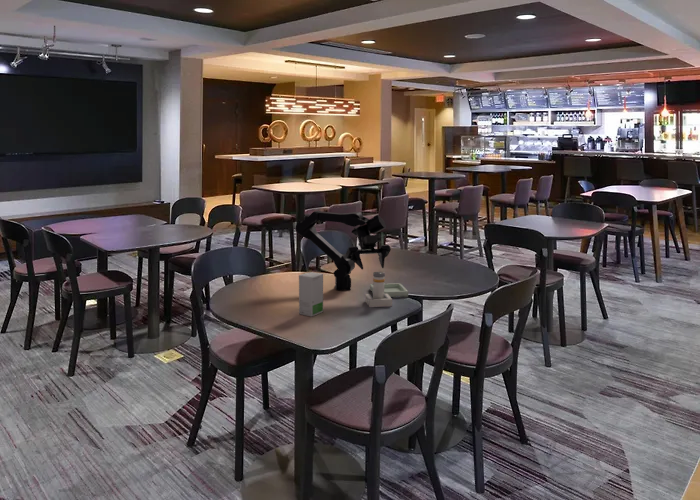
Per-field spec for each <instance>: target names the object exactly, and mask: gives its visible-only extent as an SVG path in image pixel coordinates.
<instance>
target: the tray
mask: <svg viewBox="0 0 700 500" xmlns="http://www.w3.org/2000/svg"><path fill="white" fill-rule="evenodd" d="M369 290H370V292H371V291H372V292H373V283H370V284H369ZM372 292H371V293H372ZM384 294H388V295H389V296H390V297H393V298H397V297H396V296H400V297H399V298H408V297H409V290H407V288H406V287H405V286H404V285H403V284H402V283H401V282H398V283H397V282H393V283H384ZM384 298H385V297H384Z"/></svg>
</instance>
